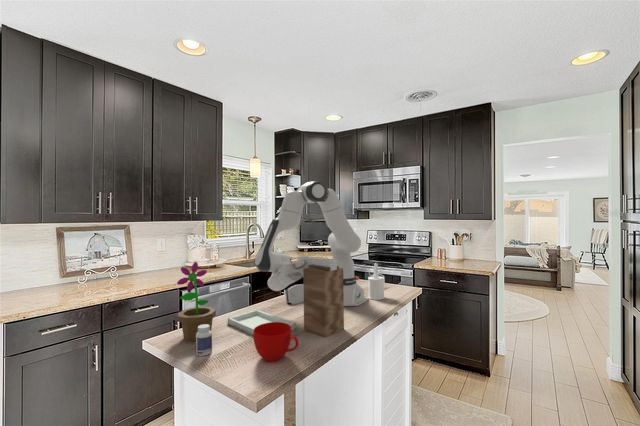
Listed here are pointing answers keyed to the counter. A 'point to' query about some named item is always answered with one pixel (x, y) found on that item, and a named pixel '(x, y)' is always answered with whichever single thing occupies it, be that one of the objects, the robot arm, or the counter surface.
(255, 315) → the tray
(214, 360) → the counter surface
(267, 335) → the ceramic cup
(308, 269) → the ridged wooden post
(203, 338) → the pill bottle
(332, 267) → the block
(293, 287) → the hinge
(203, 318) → the flowerpot
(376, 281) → the white soap dispenser
